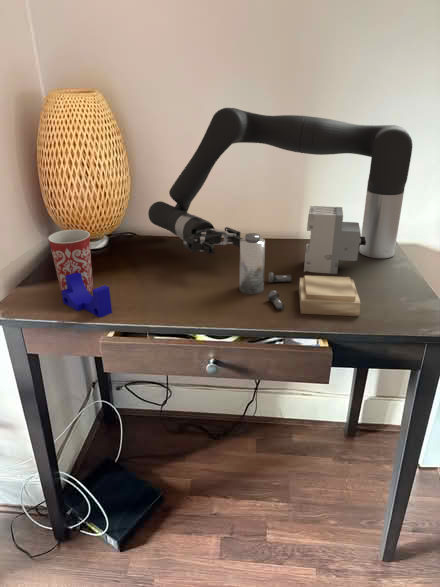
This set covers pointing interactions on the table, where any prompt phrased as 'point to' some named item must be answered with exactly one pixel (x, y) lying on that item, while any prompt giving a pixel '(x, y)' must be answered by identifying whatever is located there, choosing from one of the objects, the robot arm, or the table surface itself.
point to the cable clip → (86, 296)
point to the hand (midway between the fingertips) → (228, 247)
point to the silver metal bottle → (252, 264)
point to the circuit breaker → (330, 240)
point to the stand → (328, 296)
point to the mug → (72, 256)
